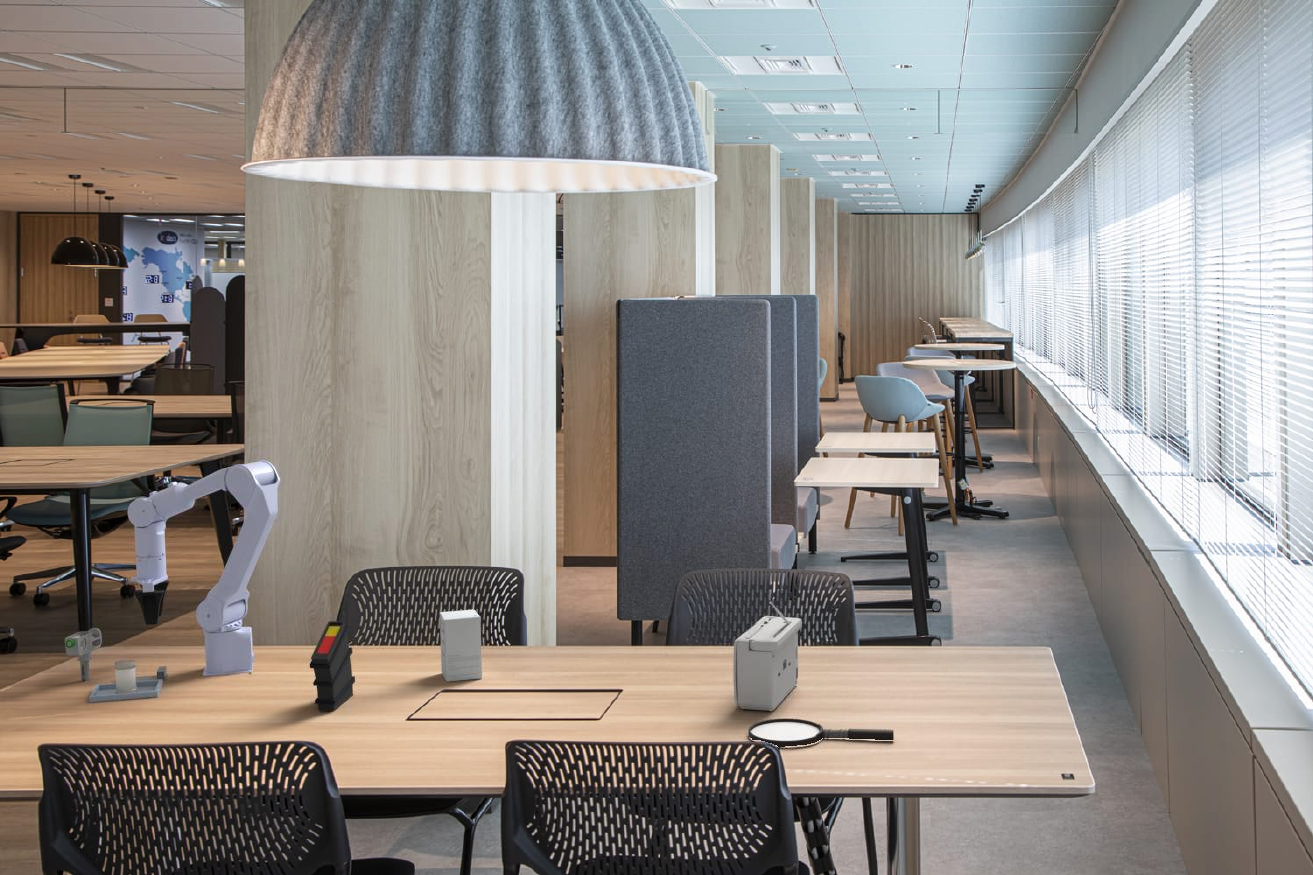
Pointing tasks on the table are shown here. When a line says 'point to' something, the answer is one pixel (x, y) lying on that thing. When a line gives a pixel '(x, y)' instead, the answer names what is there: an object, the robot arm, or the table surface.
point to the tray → (109, 693)
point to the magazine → (333, 667)
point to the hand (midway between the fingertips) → (153, 620)
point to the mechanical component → (83, 648)
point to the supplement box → (460, 645)
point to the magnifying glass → (807, 732)
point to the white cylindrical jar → (125, 676)
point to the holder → (160, 675)
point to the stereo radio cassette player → (766, 662)
